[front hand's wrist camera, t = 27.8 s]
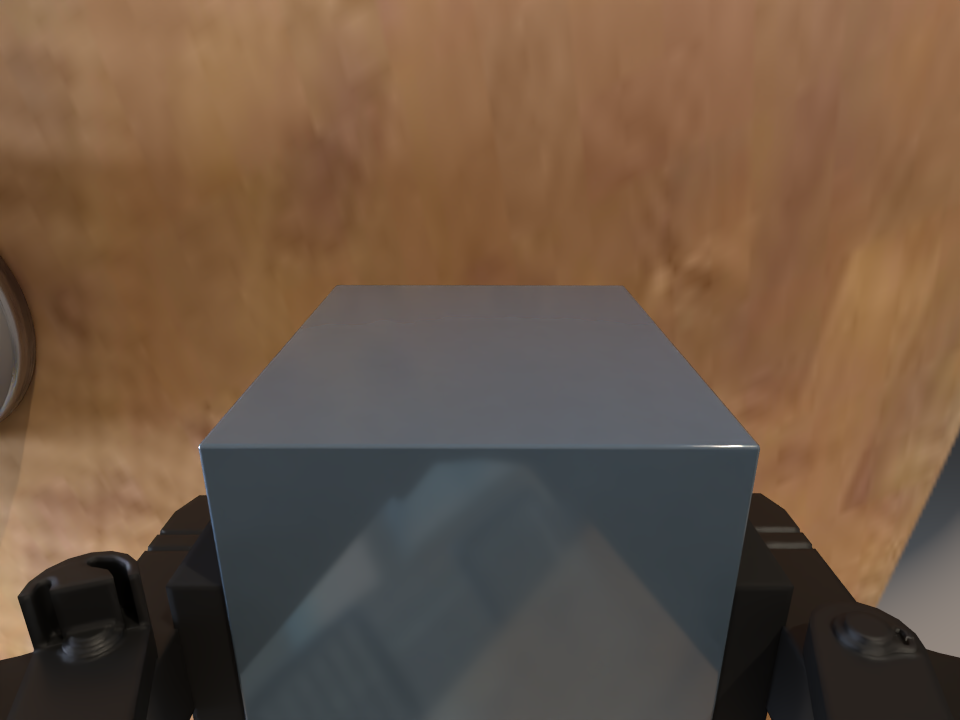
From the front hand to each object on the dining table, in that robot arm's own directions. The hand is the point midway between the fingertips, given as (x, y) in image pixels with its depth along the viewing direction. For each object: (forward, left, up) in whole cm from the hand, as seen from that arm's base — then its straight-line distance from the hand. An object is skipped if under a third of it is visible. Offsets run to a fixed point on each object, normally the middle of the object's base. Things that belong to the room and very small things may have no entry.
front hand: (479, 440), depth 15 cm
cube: (0, 0, -1) cm, 1 cm away
